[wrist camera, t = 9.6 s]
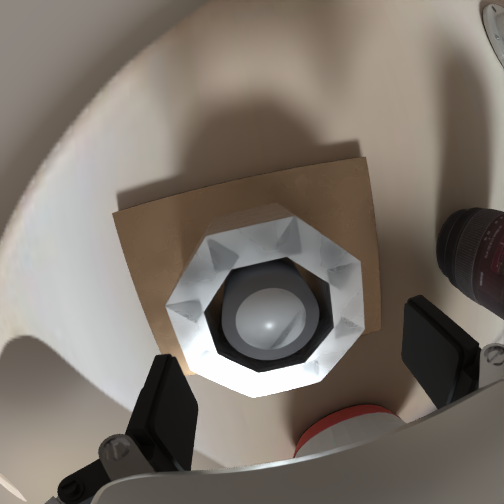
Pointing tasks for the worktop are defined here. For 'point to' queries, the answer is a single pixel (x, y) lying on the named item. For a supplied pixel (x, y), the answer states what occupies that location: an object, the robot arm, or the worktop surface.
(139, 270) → the candle holder on board
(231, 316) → the plug
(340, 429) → the citrus juicer
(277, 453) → the worktop surface
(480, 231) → the camera lens
